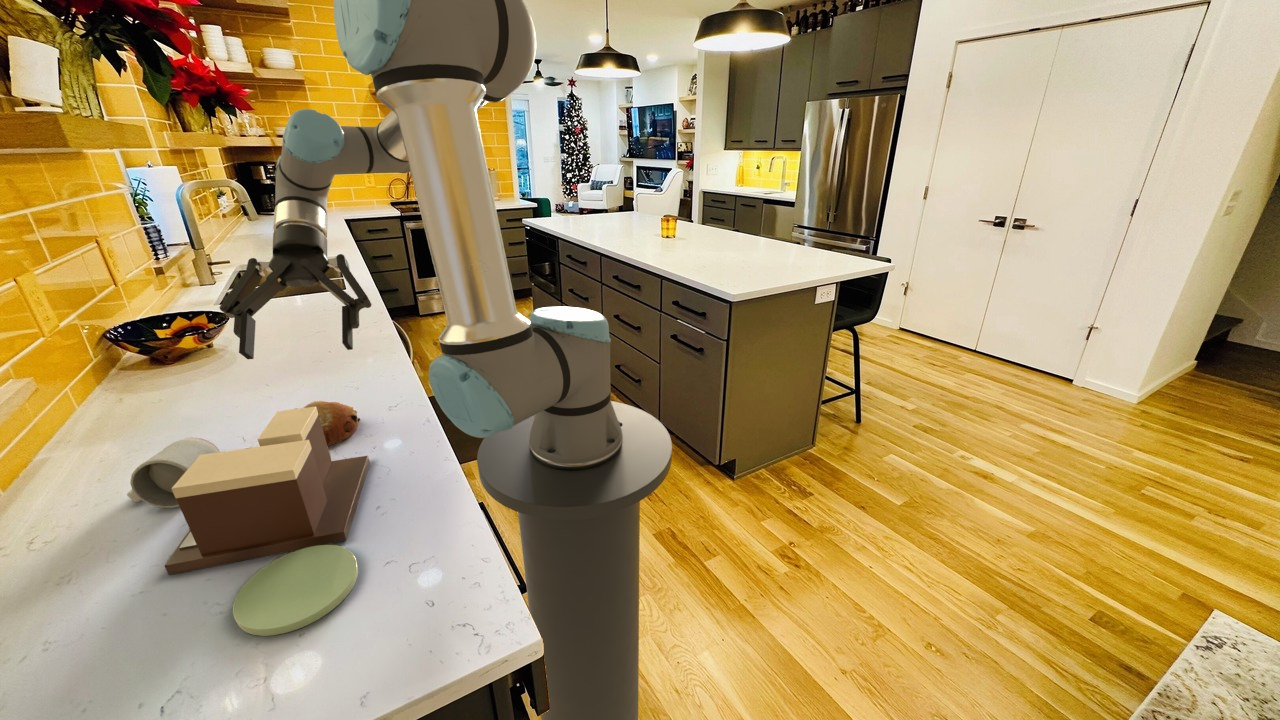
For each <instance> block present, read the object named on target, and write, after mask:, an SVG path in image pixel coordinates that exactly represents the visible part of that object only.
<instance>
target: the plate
mask: <svg viewBox="0 0 1280 720" xmlns="http://www.w3.org/2000/svg"><path fill="white" fill-rule="evenodd" d="M357 561H358V560H357V557H356V556H355V554H354V553H353V552H352V551H351V550H349V549H348V548H345V547H343V546H340V545H337V544H336V545H335V544H326V545H317V546H311V547H307V548H303V549H300V550H295V551H290V552H288V553H287V554H284V555H282V556H280V557H278V558H276V559H275V560H272V561H271V562H269V563H268V564H266V565H264V566H263V567H262V568H261V569H259V570H258V571H257V572H256V573H254V574H253V575H252V576H251V577H249V579H248V580H247V581H246V582H245V583H244V585H242V586H241V588H240V589H239V591H238V592H237V594H236V595H235V599H234V601H233V605H232V615H233V618H234V620H235V623H236V624H237V626H238V627H239V628H240V629H241V630H242V631H243V632H245V633H247V634H250V635H253V636H260V637H270V636H277V635H284V634H287V633H290V632H294V631H296V630H299V629H302V628H304V627H306V626H308V625H310V624H312V623H314V622H316V621H319V619H321V618H323V617H324V616H326V615H327V614H329V613H330V612H331V611H333V610H334V609H335V608H336V607H338V606H339V605H340V604H341V603H342V602H343V601H344V600H345V599H346V598H347V597H348V596H349V594H350V592H351V591H352V590H353V588H354V586H355V584H356V583H357V580H358V576H359V565H358V562H357Z"/></svg>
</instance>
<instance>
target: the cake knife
mask: <svg viewBox="0 0 1280 720" xmlns="http://www.w3.org/2000/svg"><path fill="white" fill-rule="evenodd" d="M191 547H197V544H196V542H195V540H194V538H193V535H192V533H191V532H190V533H189V534H188V536H187V537H186V539H185V540H184V541H183V543H182V544H181V546H180V547H179V549H186V548H191Z"/></svg>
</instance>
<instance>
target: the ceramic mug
mask: <svg viewBox="0 0 1280 720" xmlns="http://www.w3.org/2000/svg"><path fill="white" fill-rule="evenodd" d="M218 452H221V451H220V449H219V448H218V447H217V445H215V444H214V443H213V442H212V441H209V440H207V439H204V438H201V437H185V438H181V439H178V440H176V441H174V442H172V443H170V444H169V445H167V446H166V447H164V448H163V449H162V450H161V451H160V450H159V452H157V453H156V454H154V455H153V456H152V457H150V458H149V459H147V460H146V461H144V462H142V463H141V464H139V466H137V467H136V468H135V469H134V471H132V473H131V476H130V482H129V483H130V487H131V489H130V490H129V491H128V492H127V493H126V496H127V497H128V498H129V499H130V500H131V501H132V502H134V503H139V502H141V501H142V502H145V503H146V504H148V505H150V506H153V507H157V508H161V509H172V508H173V509H174V508H180V507H179V504H178V502H177V500H176V498H175V496H174V493H173V491H172V489H171V488H172V487H173V486H174V485H175V484H176V483H177V481H178V480H179V479H180V478H181V477H182V476H183V474H184V473H185V472H186V471H187V470H188V469H189V467H190V466H191V465H192V464H193V463H194V462H195V460H196V459H197V458H198V457H199V456H200V455H203V454H211V453H218Z"/></svg>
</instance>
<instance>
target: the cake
mask: <svg viewBox="0 0 1280 720" xmlns="http://www.w3.org/2000/svg"><path fill="white" fill-rule="evenodd" d="M171 489H172V491H173V493H174V496H175V498H176V500H177V502H178V504H179V507H178V508H179V509H180V511H181V513H182V515H183V517H184V520H185V522H186V524H187V526H188V529H189V530H190V531H191V533H192V535H193V538H194V540H195V542H196V544H197V547H198V549H199V551H200V553H201V555H202V556H203V555H208V554H213V553H219V552H224V551H229V550H235V549H240V548H245V547H251V546H256V545H261V544H267V543H272V542H277V541H282V540H288V539H293V538H298V537H304V536H309V535H314V533H315V531H316V528H317V526H318V523H319V520H320V518H321V515H322V513H323V510H324V508H325V505H326V502H327V498H326V495H325V491H324V488H323V485H322V481H321V478H320V475H319V471H318V468H317V465H316V461H315V458H314V455H313V451H312V448H311V445H310V441H309V440H303V441H296V442H289V443H282V444H275V445H267V446H260V445H259V446H254V447H247V448H240V449H232V450H226V451H220V452H218V453H211V454H203V455H200V456H199V457H198V458H197V459H196V460H195V462H194V463H193V464H192V465H191V466H190V467H189V469H188V470H187V471H186V472H185V473H184V474H183V476H182V477H181V478H180V479H179V480H178V481H177V483H176V484H175V485H174V486H173V487H172V488H171Z"/></svg>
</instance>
